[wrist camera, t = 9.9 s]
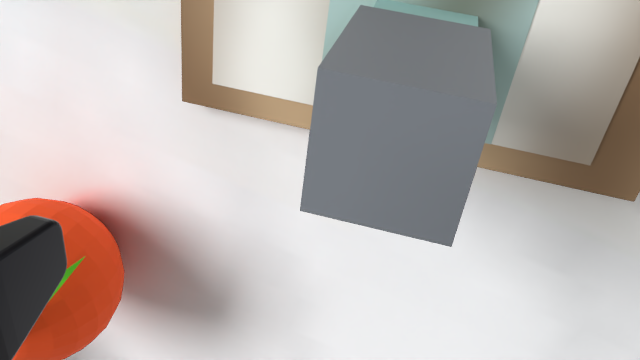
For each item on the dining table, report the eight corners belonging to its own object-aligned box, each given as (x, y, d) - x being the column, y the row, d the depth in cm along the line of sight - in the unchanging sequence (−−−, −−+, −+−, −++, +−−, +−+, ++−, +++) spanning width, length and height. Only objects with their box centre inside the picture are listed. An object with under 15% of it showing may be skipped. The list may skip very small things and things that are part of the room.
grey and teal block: (488, 9, 16) (496, 104, 11) (458, 116, 18) (451, 246, 12) (371, -12, 17) (317, 67, 11) (354, 94, 19) (300, 210, 13)
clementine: (86, 129, 23) (-47, 229, 17) (197, 248, 25) (112, 373, 19) (-8, 208, 27) (-143, 312, 21) (95, 305, 29) (-2, 425, 23)
